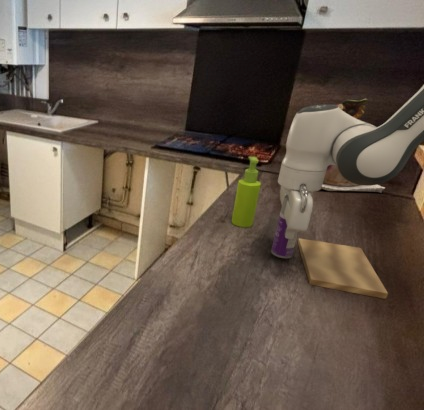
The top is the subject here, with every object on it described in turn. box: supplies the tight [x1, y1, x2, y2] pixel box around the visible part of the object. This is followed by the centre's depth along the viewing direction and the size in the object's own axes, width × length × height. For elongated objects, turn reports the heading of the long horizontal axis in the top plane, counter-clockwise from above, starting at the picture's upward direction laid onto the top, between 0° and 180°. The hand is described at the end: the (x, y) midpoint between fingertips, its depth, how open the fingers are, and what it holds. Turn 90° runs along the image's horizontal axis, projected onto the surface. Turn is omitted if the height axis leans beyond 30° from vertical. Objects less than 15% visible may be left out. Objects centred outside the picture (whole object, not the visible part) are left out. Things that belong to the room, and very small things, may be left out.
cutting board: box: [297, 237, 389, 300], centre depth 85 cm, size 14×20×2 cm
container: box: [270, 195, 299, 259], centre depth 86 cm, size 5×5×15 cm
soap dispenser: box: [230, 156, 262, 228], centre depth 104 cm, size 6×7×20 cm
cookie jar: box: [320, 98, 386, 194], centre depth 134 cm, size 25×25×32 cm
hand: (287, 231), depth 87 cm, fingers closed on container, 4 cm apart
